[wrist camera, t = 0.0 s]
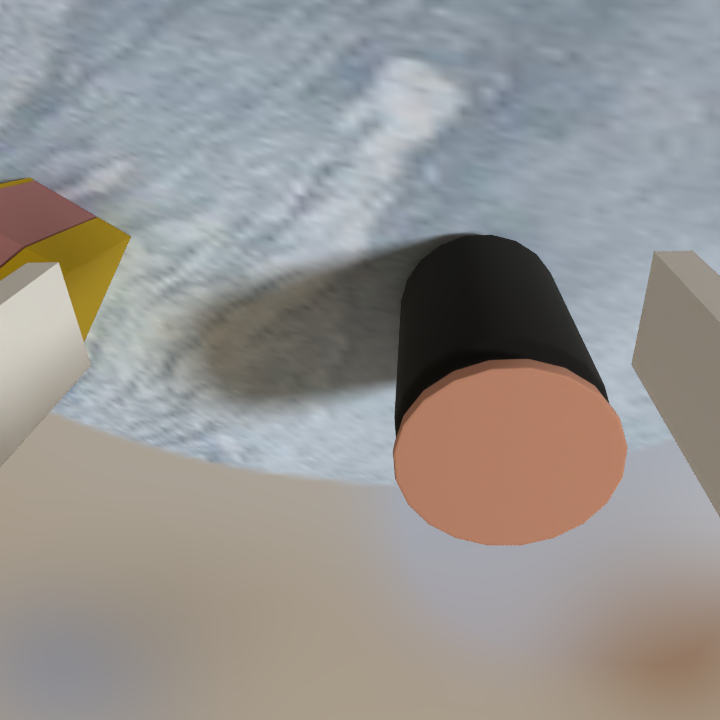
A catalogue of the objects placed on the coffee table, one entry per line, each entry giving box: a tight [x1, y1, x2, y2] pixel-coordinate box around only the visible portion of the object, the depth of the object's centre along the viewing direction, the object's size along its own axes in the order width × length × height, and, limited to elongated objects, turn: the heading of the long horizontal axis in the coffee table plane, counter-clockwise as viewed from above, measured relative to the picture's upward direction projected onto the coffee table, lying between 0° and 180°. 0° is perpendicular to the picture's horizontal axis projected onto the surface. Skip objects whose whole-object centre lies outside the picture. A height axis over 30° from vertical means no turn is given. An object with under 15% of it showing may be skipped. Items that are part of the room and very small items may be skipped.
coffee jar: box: [393, 235, 627, 545], centre depth 36 cm, size 11×11×18 cm
